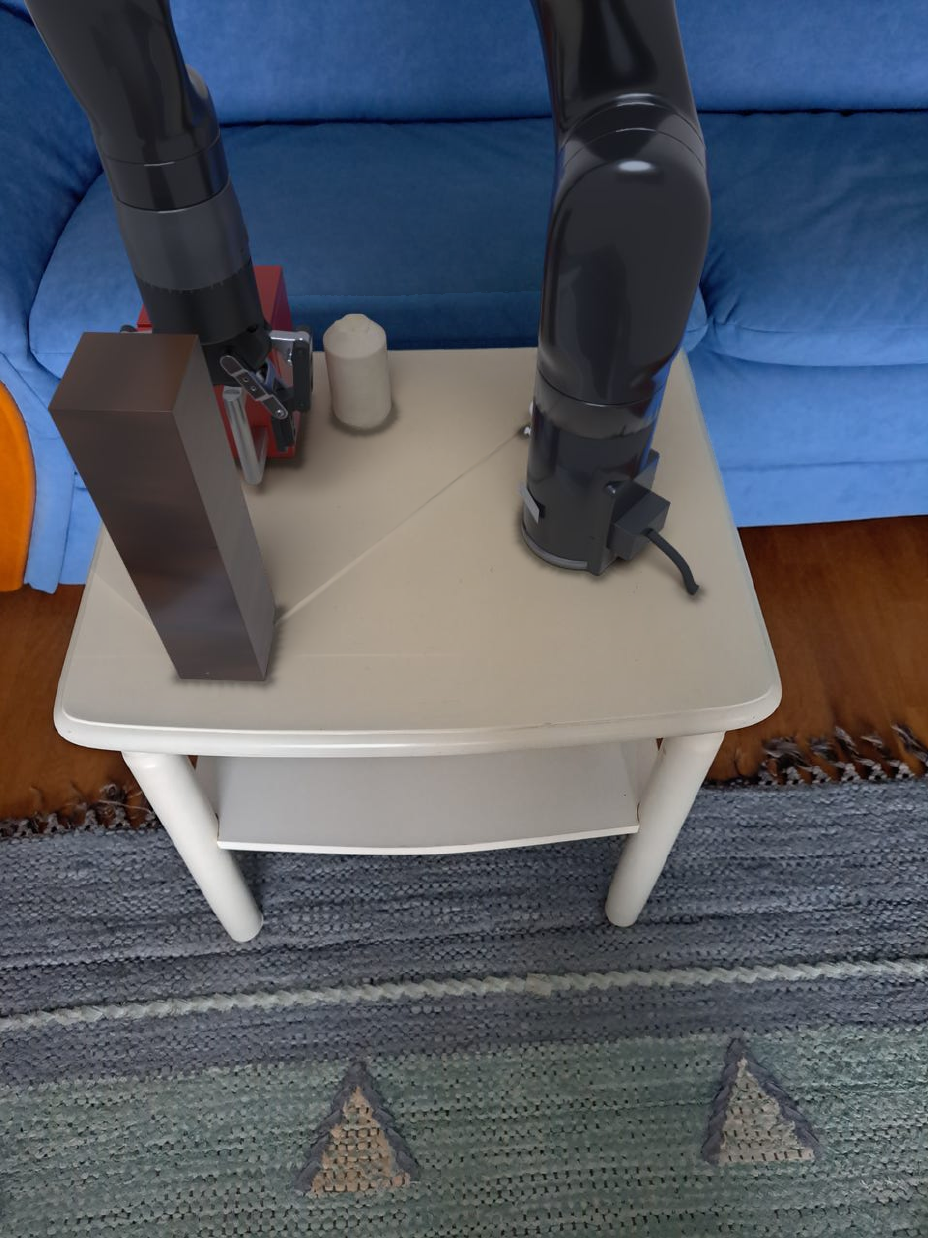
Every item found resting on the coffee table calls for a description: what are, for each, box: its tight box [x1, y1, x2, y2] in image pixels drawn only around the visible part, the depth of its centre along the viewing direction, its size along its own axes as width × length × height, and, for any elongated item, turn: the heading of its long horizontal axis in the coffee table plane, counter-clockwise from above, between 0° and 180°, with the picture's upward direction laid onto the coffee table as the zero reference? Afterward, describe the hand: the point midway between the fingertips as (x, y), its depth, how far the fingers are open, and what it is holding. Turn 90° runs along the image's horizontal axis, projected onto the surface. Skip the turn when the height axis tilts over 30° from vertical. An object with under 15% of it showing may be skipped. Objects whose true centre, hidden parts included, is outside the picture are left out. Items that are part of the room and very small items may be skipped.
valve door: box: [135, 326, 296, 486], centre depth 72 cm, size 7×10×14 cm, turn 91°
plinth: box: [47, 331, 277, 682], centre depth 57 cm, size 6×6×26 cm
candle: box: [322, 313, 392, 427], centre depth 79 cm, size 6×6×10 cm
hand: (241, 445), depth 69 cm, fingers open, 6 cm apart
